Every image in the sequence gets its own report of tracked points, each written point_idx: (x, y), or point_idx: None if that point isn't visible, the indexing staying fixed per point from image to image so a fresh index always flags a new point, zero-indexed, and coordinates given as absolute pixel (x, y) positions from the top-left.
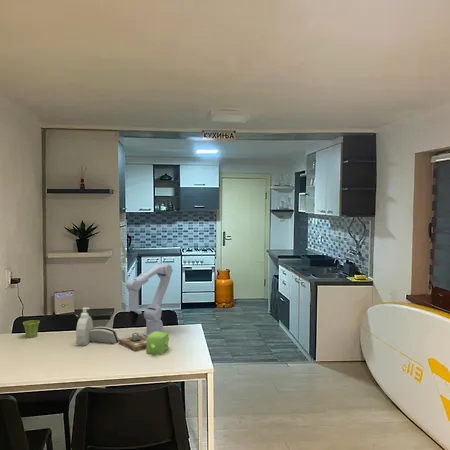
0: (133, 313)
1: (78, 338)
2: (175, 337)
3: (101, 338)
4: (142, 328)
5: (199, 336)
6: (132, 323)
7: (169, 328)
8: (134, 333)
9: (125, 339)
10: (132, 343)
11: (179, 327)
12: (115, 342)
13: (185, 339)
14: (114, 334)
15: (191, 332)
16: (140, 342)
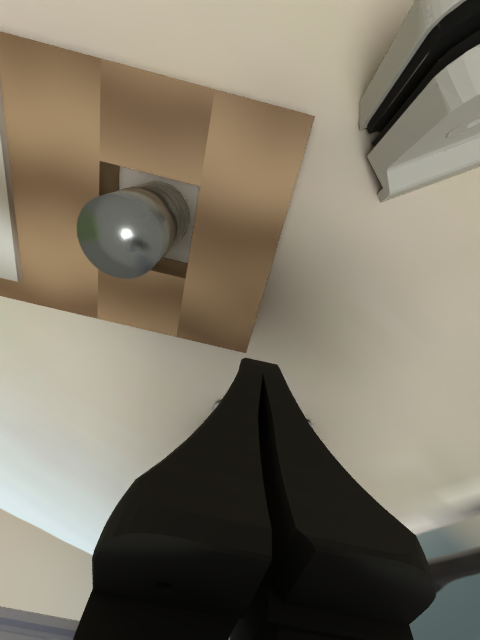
0: (97, 552)
1: None
2: (101, 468)
3: None
4: (425, 503)
5: (33, 522)
6: (248, 364)
7: None
8: (147, 249)
9: (254, 173)
10: (59, 106)
11: None
12: (362, 100)
13: (28, 467)
14: (422, 86)
15: None
16: (41, 197)
